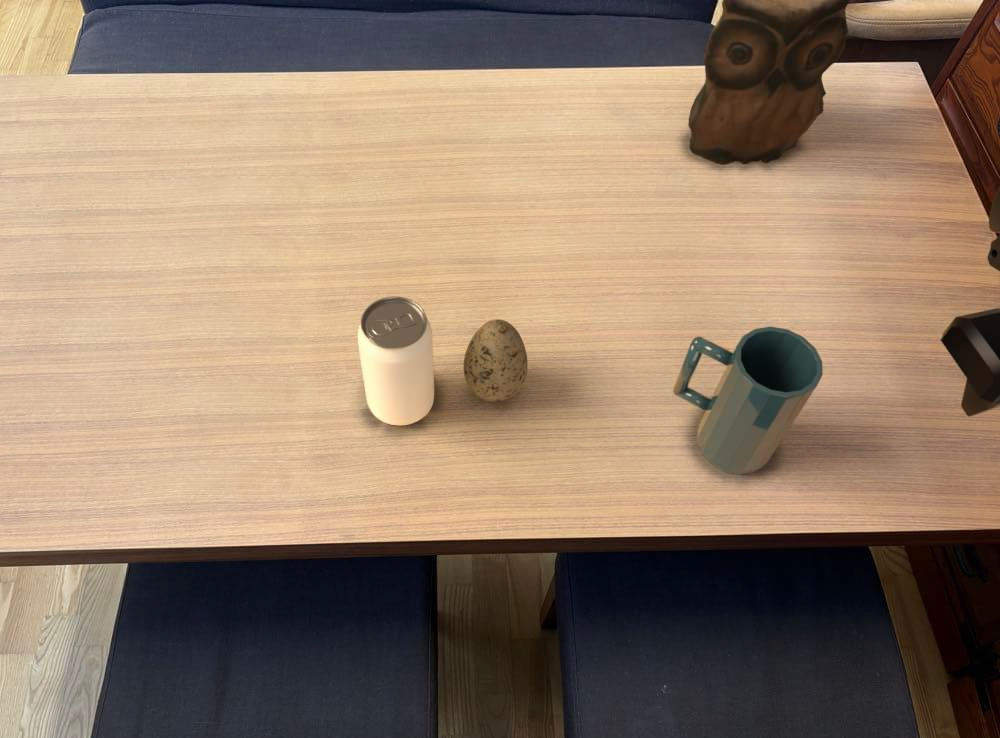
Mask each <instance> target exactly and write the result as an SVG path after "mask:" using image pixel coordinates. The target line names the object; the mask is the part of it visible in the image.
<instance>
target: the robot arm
mask: <svg viewBox="0 0 1000 738" xmlns="http://www.w3.org/2000/svg"><path fill="white" fill-rule="evenodd" d="M988 228H989V230H990V231H991V232H993V233H996V234H999V235H998V236H997V237H996V238H995V239H993V240H992V241H991V242H990V248H989V251H988V254H987V261H988V264H989V265H990V267H992V268H993V269H995V270H997V271H998V272H1000V185H998V188H997V190H996V193H995V195H994V198H993V201H992V203H991V208H990V212H989V216H988ZM940 342H941V344H942V345H943V346H944V348H945V349H946V351H947V352H948V353H949V355H950V356H951V358H952V359H953V361H955V364H956V365H957V366H958V368H959V369H960V371H961V372H962V373H963V375H964V376H965V378H966V381H965V385H964V390H963V393H962V394H963V395H962V398H961V403H960V407H961V409H962V411H963V412H964V413H965V415H966V416H967V417H973V416H976V415H979V414H983V413H986V412H989V411H992V410H994V409H998V408H1000V307H997V308H992V309H987V310H982V311H978V312H977V311H976V312H974V313H968V314H963V315H958V316H955V317H954V319H953V320H952V321H951V323H950V324H949V325H948V326H947V327H946V329H945V330H944V331H943V332H942V335H941V338H940Z"/></svg>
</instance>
